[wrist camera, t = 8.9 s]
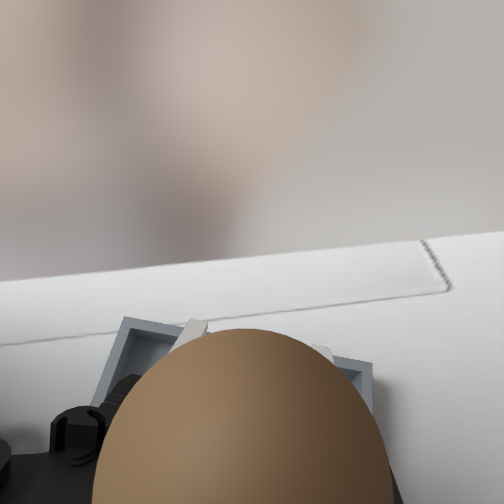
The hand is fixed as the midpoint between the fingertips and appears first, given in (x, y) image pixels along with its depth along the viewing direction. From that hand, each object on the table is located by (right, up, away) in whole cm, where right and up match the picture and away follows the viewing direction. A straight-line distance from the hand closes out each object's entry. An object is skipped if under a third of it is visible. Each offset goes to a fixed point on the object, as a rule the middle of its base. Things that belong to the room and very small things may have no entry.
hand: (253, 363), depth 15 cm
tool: (-1, -5, +1) cm, 5 cm away
